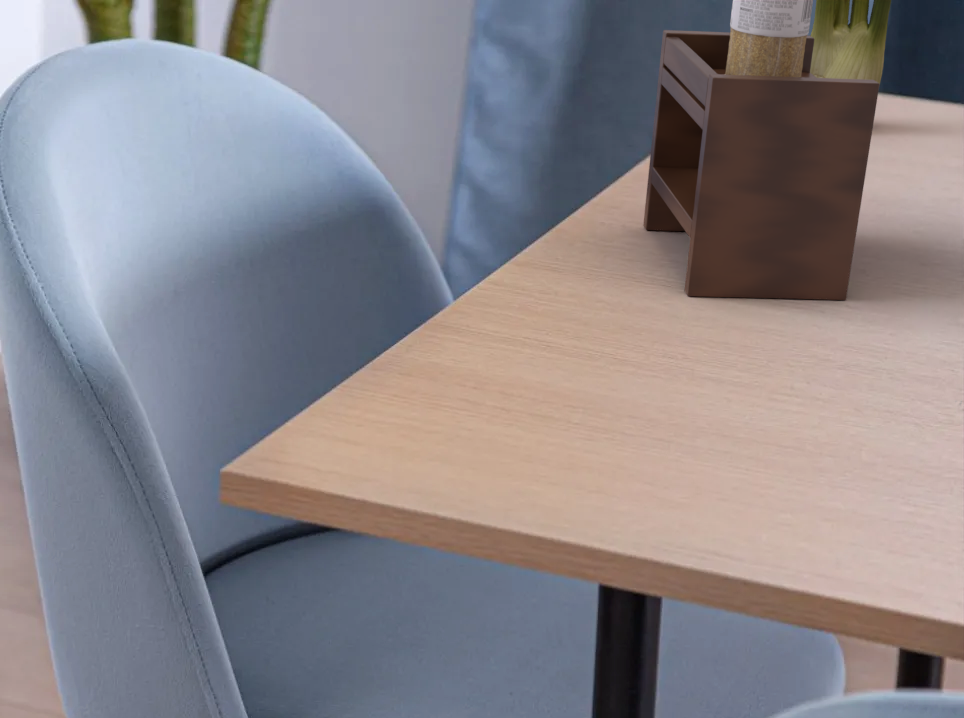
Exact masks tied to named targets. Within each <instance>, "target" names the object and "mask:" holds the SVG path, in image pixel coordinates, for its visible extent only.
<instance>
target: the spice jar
mask: <svg viewBox="0 0 964 718" xmlns="http://www.w3.org/2000/svg"><path fill="white" fill-rule="evenodd" d="M813 4H814V0H732V5H731V11H730V12H731V14H730V21H729V22H730V23H729V27H730V42H729V50H728V56H727V57H728V59H727V66H726V72H725V74H724V75H751V76H780V77H801V74H802V68H803V58H804V52H805V44H806V37H807V35H809V32H810V26H811V19H812V10H813V6H814V5H813Z"/></svg>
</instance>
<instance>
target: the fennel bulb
mask: <svg viewBox="0 0 964 718" xmlns="http://www.w3.org/2000/svg"><path fill="white" fill-rule="evenodd" d="M850 3H851V8H850ZM891 4H892V0H873V3H872V8H871V12H870V16H869V10H870V0H815V9H814V10H815V11H814V18H813V24H812V29H811V33H810V36H811V37H813V38H814V47H813V54H812V61H811V68H810V73H811V74H813V75H814V76H815V77H816V78H836V79H865V80H875V81H876V82H878V83H879V86H880V85H881V80H882V76H883V70H884V62H885V49H886V41H887V32H888V22H889V17H890V16H889V15H890V11H891V6H892V5H891ZM850 9H851V10H850ZM849 15H850V16H849ZM868 16H869V17H868Z"/></svg>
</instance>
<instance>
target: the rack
mask: <svg viewBox="0 0 964 718" xmlns="http://www.w3.org/2000/svg"><path fill="white" fill-rule="evenodd" d="M730 32H731V31H730ZM730 32H726V31H724V32H723V31H703V30H702V31H701V30H677V29H676V30H674V29H673V30H672V29H663V31H662V40H661V48H660V49H661V50H660V59H659V69H658V78H657V87H656V88H657V89H656V98H655V105H654V107H655V108H654V117H653V125H652V126H653V127H652V136H651V137H652V138H651V146H650V155H649V164H648V165H649V166H648V176H647V186H646V196H645V204H644V215H643V224H642V226H643V227H644V229H645V231H661V232H662V231H665V232H685V233H686V234H687V236H688V237H689V247H688V257H687V266H686V274H685V283H684V292H685V294H686V295H687V297H703V298H704V297H709V298H710V297H712V298H743V299H745V298H749V299H751V298H752V299H786V300H787V299H789V300H825V301H830V300H831V301H832V300H833V301H846V300H847V295H848V288H849V284H850V283H849V282H850V276H851V269H852V263H853V258H854V250H855V244H856V237H857V233H858V232H857V231H858V225H859V219H860V212H861V206H862V200H863V199H862V198H863V192H864V186H865V180H866V173H867V167H868V162H869V161H868V160H869V154H870V149H871V142H872V135H873V129H874V122H875V115H876V110H877V105H878V104H877V103H878V96H879V89H880V85H879V83H878V82H876V81H875V80H865V79H836V78H816V77H815V76H814V75H813V74H811V73H810V68H811V61H812V54H813V47H814V38H813V37H811V36H810V35H811V34H810V35H809V34H808V35H807V37H806V44H805V52H804V58H803V68H802V74H801V77H780V76H751V75H724V74H725V72H726V66H727V59H728V57H727V56H728V50H729V42H730Z"/></svg>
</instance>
